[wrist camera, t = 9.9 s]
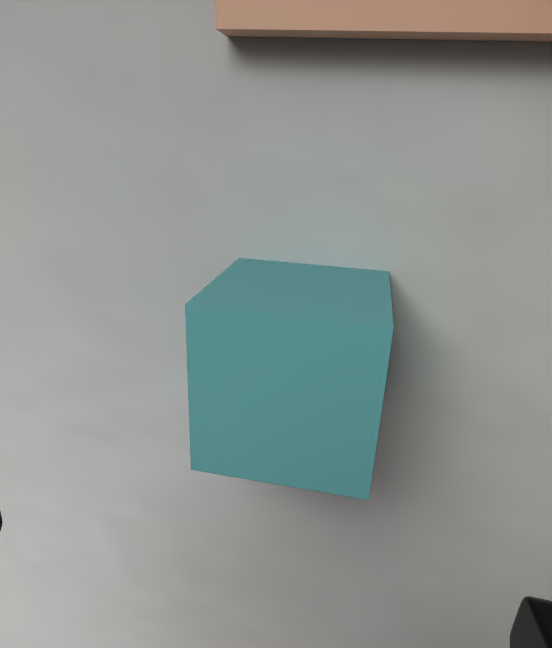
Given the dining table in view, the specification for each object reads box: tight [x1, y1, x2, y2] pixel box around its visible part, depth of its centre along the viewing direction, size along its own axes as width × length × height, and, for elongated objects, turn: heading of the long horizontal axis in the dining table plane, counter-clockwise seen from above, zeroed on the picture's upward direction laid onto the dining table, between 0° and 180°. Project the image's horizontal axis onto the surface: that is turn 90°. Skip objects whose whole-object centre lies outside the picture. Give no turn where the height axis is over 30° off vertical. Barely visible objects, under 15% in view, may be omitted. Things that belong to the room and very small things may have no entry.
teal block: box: [185, 258, 394, 500], centre depth 14 cm, size 5×5×5 cm
